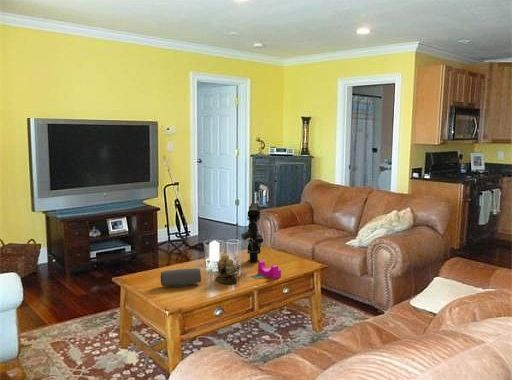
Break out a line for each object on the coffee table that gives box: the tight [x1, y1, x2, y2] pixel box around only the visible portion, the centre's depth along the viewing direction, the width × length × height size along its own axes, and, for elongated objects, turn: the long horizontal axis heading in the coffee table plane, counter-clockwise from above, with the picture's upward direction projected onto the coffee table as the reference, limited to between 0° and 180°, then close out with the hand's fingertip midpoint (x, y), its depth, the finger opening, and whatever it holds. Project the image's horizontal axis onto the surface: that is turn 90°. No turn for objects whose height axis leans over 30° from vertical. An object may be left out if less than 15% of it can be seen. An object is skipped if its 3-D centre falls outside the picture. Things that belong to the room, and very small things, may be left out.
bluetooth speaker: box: [160, 268, 202, 288], centre depth 266 cm, size 23×9×10 cm, turn 110°
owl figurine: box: [215, 254, 238, 286], centre depth 276 cm, size 18×12×17 cm, turn 35°
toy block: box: [257, 260, 282, 280], centre depth 288 cm, size 15×6×8 cm, turn 42°
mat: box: [251, 273, 268, 280], centre depth 288 cm, size 7×16×1 cm, turn 120°
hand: (253, 250), depth 303 cm, fingers closed
